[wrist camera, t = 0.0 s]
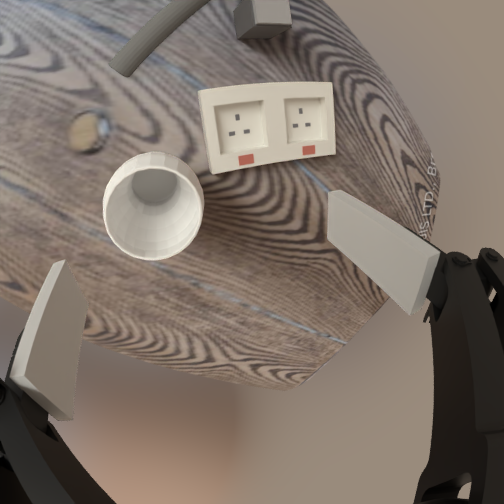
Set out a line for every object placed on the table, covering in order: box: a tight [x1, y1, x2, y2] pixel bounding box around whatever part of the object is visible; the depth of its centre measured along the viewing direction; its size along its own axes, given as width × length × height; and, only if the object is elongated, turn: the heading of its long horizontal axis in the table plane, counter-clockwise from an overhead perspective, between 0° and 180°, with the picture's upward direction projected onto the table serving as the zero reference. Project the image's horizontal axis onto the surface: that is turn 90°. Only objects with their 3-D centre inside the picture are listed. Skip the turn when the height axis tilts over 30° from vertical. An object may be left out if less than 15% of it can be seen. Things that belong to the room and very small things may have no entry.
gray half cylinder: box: [109, 0, 210, 77], centre depth 24 cm, size 4×20×2 cm, turn 137°
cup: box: [103, 151, 204, 260], centre depth 30 cm, size 11×11×15 cm
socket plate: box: [198, 82, 336, 174], centre depth 36 cm, size 12×20×2 cm, turn 96°
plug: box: [233, 0, 292, 39], centre depth 25 cm, size 5×5×8 cm
